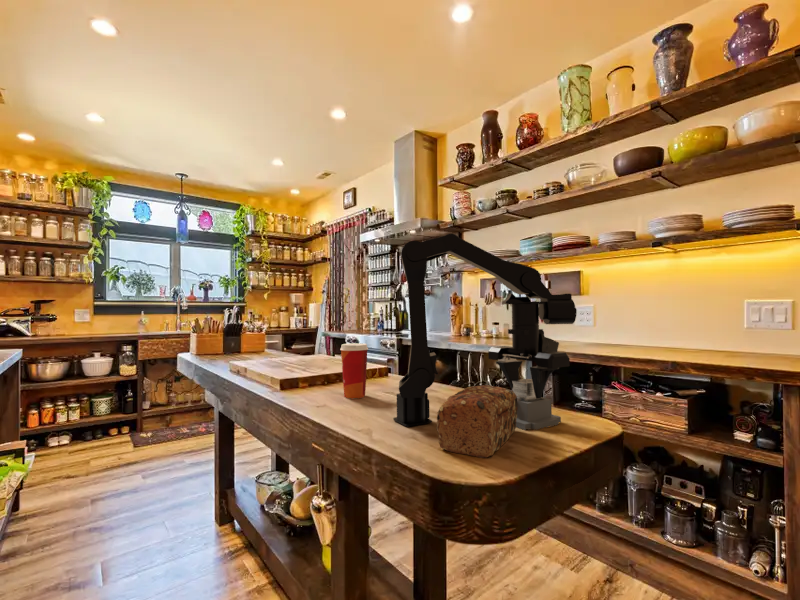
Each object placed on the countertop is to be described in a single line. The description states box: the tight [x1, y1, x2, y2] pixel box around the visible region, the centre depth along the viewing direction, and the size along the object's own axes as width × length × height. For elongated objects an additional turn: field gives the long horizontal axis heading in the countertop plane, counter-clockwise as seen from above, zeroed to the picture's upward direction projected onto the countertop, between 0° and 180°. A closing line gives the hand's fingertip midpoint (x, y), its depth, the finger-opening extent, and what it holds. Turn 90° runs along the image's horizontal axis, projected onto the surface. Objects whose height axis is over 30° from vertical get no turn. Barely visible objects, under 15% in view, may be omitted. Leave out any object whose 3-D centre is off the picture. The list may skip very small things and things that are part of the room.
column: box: [511, 378, 541, 402], centre depth 88 cm, size 5×4×8 cm
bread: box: [436, 384, 517, 459], centre depth 76 cm, size 19×11×10 cm, turn 150°
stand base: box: [516, 396, 562, 431], centre depth 88 cm, size 11×11×6 cm
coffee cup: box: [339, 342, 369, 399], centre depth 115 cm, size 8×8×15 cm
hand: (526, 395), depth 88 cm, fingers open, 6 cm apart
